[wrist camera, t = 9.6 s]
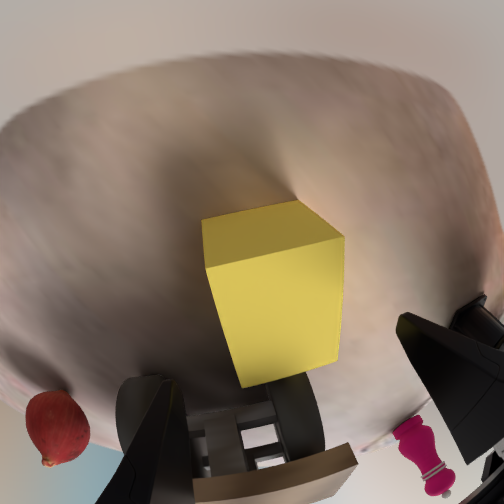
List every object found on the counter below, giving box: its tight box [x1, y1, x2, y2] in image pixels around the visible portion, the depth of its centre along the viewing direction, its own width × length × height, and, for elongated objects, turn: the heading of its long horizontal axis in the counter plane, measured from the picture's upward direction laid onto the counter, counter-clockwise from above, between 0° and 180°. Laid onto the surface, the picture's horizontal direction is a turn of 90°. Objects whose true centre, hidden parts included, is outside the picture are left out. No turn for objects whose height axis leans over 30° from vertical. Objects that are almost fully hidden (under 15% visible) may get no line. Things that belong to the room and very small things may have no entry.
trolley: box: [116, 372, 358, 504], centre depth 16 cm, size 13×16×10 cm
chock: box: [201, 200, 345, 388], centre depth 13 cm, size 5×7×5 cm
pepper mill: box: [393, 415, 455, 498], centre depth 28 cm, size 7×7×20 cm
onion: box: [26, 390, 90, 468], centre depth 13 cm, size 6×6×8 cm
